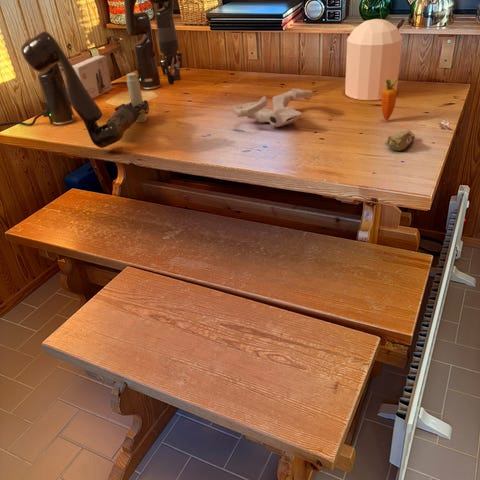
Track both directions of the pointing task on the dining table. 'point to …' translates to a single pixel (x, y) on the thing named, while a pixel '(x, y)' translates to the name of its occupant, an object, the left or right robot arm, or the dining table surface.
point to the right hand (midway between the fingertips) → (174, 82)
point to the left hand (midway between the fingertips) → (139, 102)
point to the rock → (400, 140)
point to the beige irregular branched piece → (280, 112)
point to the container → (372, 59)
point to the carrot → (388, 99)
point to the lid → (176, 76)
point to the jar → (135, 93)
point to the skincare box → (94, 75)
